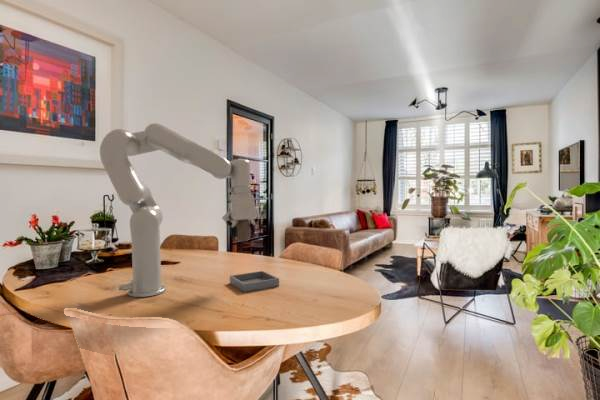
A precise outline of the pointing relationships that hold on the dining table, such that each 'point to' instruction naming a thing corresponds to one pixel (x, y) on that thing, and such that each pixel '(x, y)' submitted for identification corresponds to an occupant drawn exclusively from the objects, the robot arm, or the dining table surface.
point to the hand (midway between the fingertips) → (242, 235)
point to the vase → (243, 230)
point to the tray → (254, 281)
